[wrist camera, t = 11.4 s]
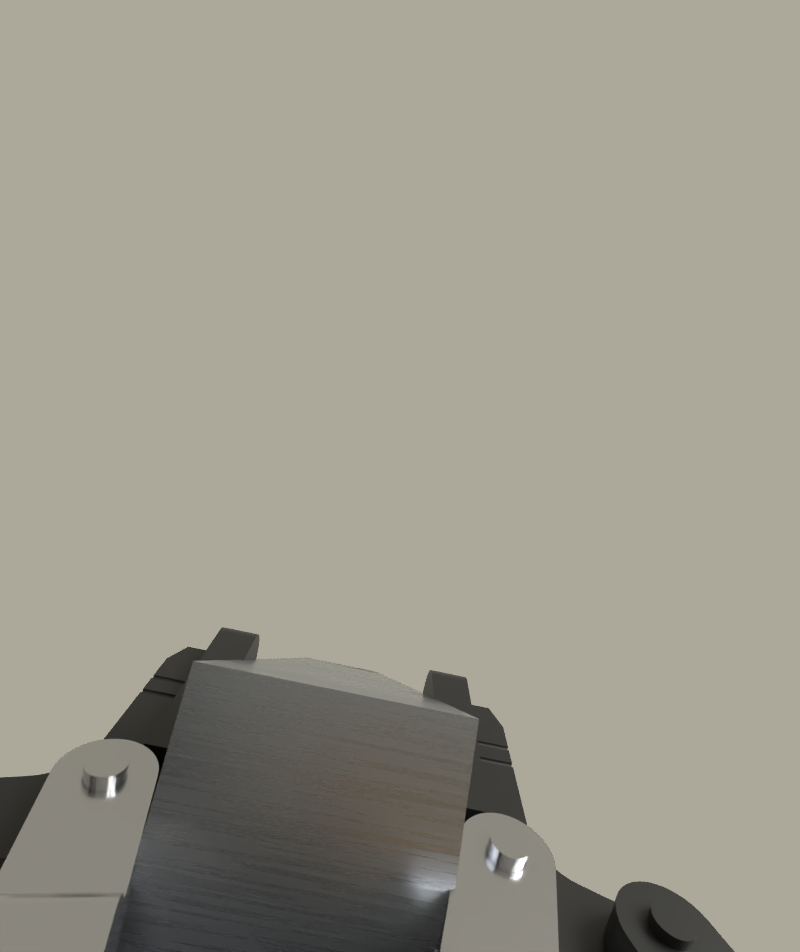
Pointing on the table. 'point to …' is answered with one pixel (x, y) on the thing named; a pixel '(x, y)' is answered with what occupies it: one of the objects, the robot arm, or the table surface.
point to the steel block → (302, 814)
